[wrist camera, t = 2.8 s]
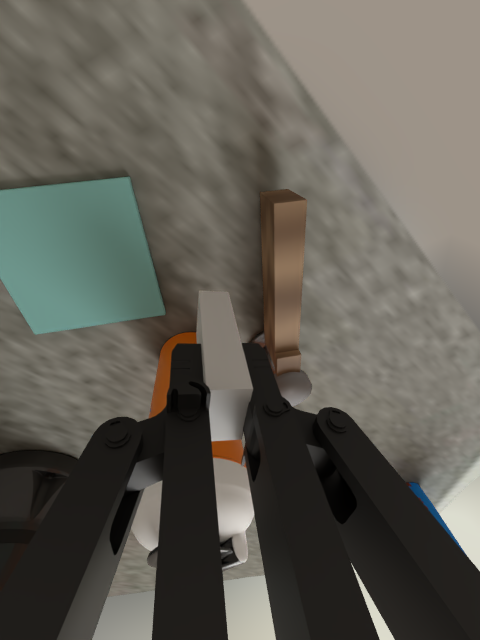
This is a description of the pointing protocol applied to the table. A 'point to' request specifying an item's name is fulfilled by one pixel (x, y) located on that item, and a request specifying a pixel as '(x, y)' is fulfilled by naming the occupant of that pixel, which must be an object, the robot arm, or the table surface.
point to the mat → (77, 255)
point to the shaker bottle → (228, 482)
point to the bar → (284, 287)
